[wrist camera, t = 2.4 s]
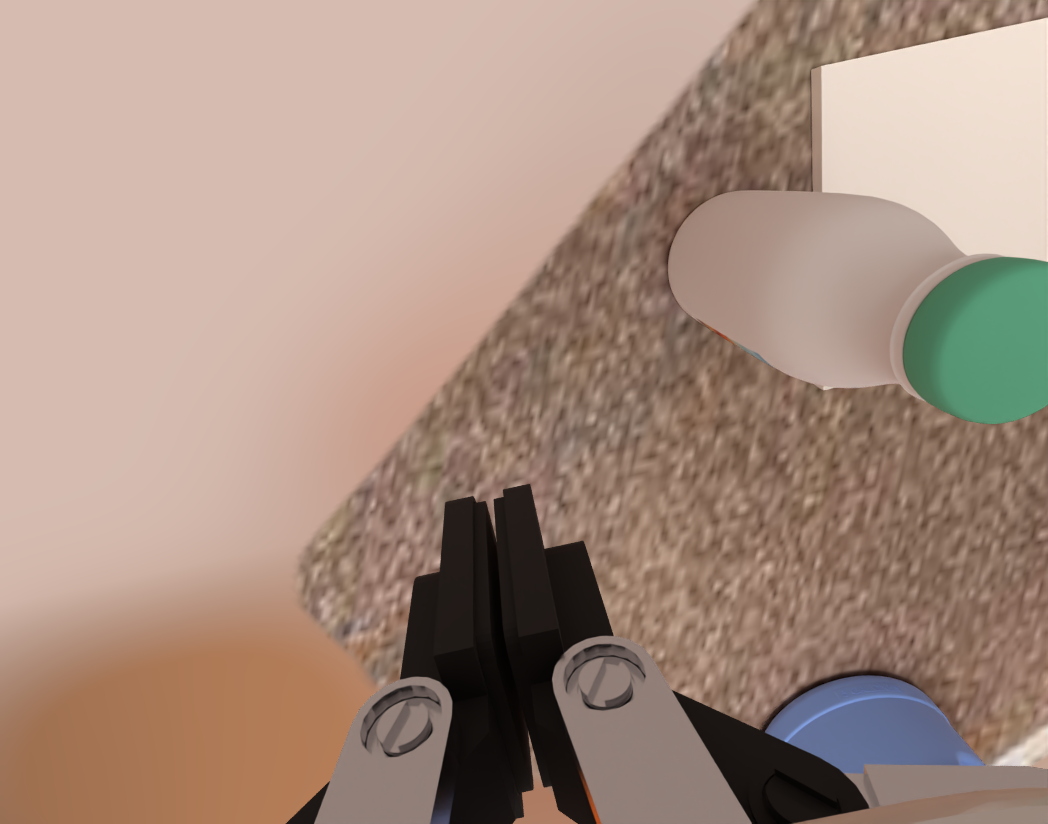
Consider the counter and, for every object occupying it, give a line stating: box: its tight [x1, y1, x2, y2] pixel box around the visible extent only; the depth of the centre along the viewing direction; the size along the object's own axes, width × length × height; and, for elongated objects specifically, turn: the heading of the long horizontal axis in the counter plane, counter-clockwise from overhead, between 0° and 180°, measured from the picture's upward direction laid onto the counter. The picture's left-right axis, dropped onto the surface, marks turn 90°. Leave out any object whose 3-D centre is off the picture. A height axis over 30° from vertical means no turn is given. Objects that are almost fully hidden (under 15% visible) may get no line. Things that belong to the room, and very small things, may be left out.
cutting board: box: [811, 18, 1048, 390], centre depth 34 cm, size 14×18×1 cm
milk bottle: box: [668, 190, 1048, 424], centre depth 25 cm, size 8×8×20 cm
